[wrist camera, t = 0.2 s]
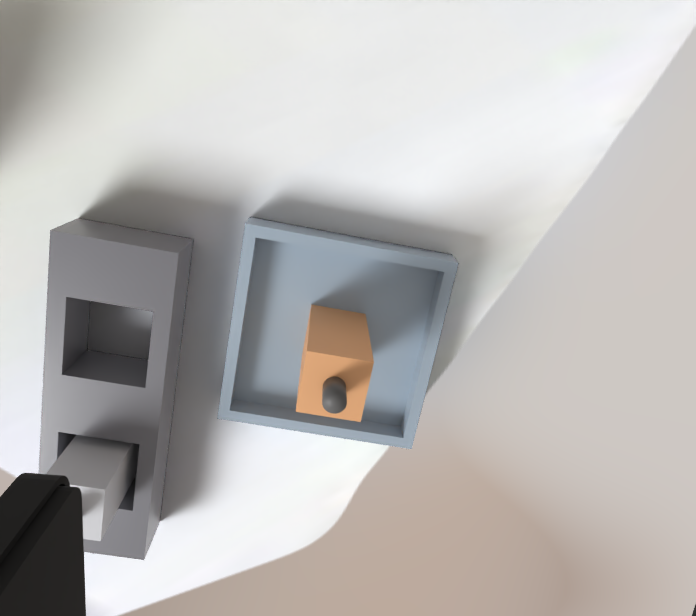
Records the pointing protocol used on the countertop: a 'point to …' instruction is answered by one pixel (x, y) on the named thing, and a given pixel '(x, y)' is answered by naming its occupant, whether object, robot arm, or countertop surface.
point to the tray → (340, 293)
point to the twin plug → (98, 478)
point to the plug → (335, 364)
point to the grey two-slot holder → (114, 361)
